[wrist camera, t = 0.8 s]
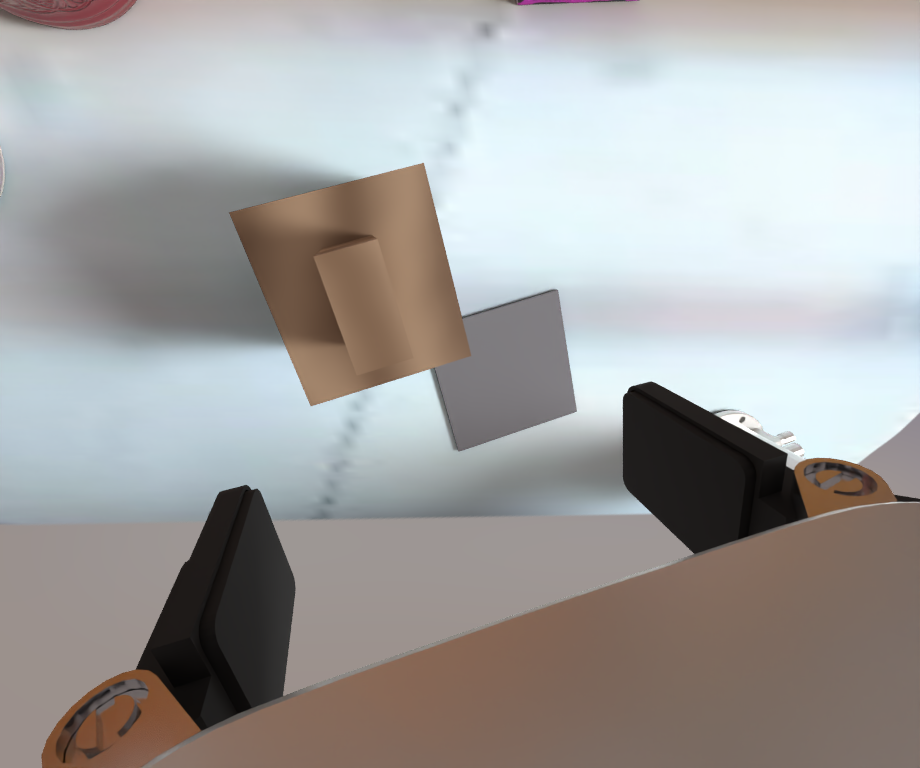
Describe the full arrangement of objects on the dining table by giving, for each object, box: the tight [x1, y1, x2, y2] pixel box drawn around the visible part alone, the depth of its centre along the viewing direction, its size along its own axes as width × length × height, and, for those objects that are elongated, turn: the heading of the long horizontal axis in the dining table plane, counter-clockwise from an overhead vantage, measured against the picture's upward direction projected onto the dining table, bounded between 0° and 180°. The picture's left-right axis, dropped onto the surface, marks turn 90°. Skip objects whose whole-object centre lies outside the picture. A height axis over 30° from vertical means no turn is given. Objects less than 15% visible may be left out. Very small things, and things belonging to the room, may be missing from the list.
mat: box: [435, 290, 577, 451], centre depth 46 cm, size 14×14×1 cm
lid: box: [229, 163, 471, 406], centre depth 25 cm, size 11×12×8 cm
